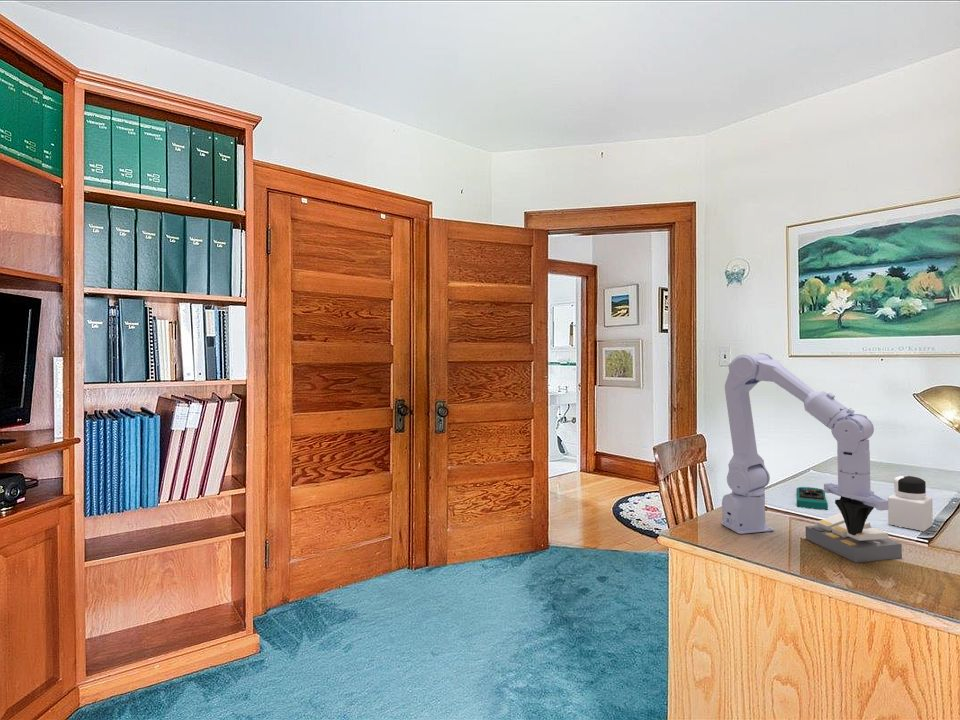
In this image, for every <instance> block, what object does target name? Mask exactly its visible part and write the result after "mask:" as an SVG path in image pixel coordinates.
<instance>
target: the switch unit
mask: <svg viewBox="0 0 960 720" xmlns="http://www.w3.org/2000/svg"><path fill="white" fill-rule="evenodd" d="M805 540H807V541H809V542H812V543H813V544H816V545H818V546H819V547H822V548H824V549H827V550H828V551H831V552H833V553H835V554H837V555H839V556H841V557H843V558H846V559H847V560H850V561H851V562H854V563H855V564H857V563H866V562H874V561H877V562H878V561H884V560H893V559H895V560H896V559H902V558H903V551H902V550H903V547H902V545H903V544H902V543H901V542H898V541H895V540H893V539H890V538H889V537H888V538H887V539H874V540H861V541H859V540H856V539H854V538H852V537H849V536H847V537H845V538H844V537H841V536H839V535H837V534H834V533H832V530H831V531H827V530H825V529H823V528H820V527H818V524H817V525H815V524H814V525H808V526H807V525H805Z"/></svg>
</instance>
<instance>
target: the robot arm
mask: <svg viewBox="0 0 960 720" xmlns="http://www.w3.org/2000/svg"><path fill="white" fill-rule="evenodd" d="M728 371H729V372H728V373H727V376H726V381H725V383H724V393H725V394H724V395H725V401H726V407H727V415H728V422H729V423H728V424H729V429H730V436H731V437H730V438H731V444H732V451H733V455H732V457H731V459H730V460H729V462H728V465H727V466H728V473H727V475H726V483H727V485H728V487H729V489H730V490H731V493H727V494H725V495H723V496H722V499H721V515H722V516H721V517H722V519H721V520H722V521H720V525H723V526H724V527H726V528H727V529H730V530H731V531H733V532H735V533H737V534H740V535H742V534H754V533H762V532H773V531H775V528H773V527H771V526H768V525H767V524H766V500H765V499H766V498H765V497H766V493H765V491H766V487H767V486H768V485H769V483H770V480H771V479H770V478H771V477H770V473H769V470H768V469H767V467H766V465H765V462H764V461H765V460H764V459H763V457H761V456H760V454H759V453H758V450H757V442H756V433H755V428H754V427H755V426H754V420H753V412H752V407H751V398H750V391H751V390H752V389H753V388H754V387H755V386H757V385H758V383H760V382H772V383H775V384H777V385H778V386H779V387H781V388H782V389H783V390H785V391H786V392H788V393H789V394H791V395H792V396H794V397H795V398H797V399H798V400H799V401H801V402H802V403H803V407H804V410H805V411H806V412H807V413H808V414H810V416H812V417H813V418H815V419H816V420H817V421H818V422H820V423H821V424H823V425H824V426H825V427H827V428H828V429H829V430H830V431H831V435H832V436H833V438H834V440H836V442H837V446H836V447H837V448H836V449H837V450H836V452H837V453H836V454H837V455H836V456H837V457H836V459H837V484H835V483H832V482H831V483H830V482H829V483H828V482H827V483H823V490H824V492H825V494H833V495H836V496H838V497H840V498H839V499H835V500H834V503H835V505H836V507H837V508H838V510H839V512H840V513H841V514H842V516H843V518H844V521H845V524H846V527H847V530H848V533H849V534H851V535H856V534H857V533H862V531H863V527H864V524H865V522H866V521H867V519H868V517H869V515H870V514H871V512H873V510H874V509H876V510H877V511H880V512H881V511H888V510H889V506H888V499H885V498H883V497H880V496H878V495H877V494H875V493H874V492H875V491H873V490H871V456H870V455H871V453H870V452H871V450H870V439H869V438H871V437H872V436H873V434H874V431H875V428H874V427H875V426H874V424H873V423H872V421H871V420H870V419H869V418H868V417H867V416H866V415H864V414H862V413H856V412H855V410H854V409H852V408H848V407H846V406H845V405H844V404H842V403H841V402H839V401H838V400H837V399H835V398H836V396H835V395H834V394H833V392H828V393H827V392H825V391H815V390H813V389H812V388H811V387H810V386H809V385H808V384H806V383H805V382H804V381H802V380H801V379H800V378H798V377H797V376H796V375H795V374H793V373H792V372H791V371H790V370H789V369H788V368H786V367H785V366H784V365H783V364H782V363H781V362H780V361H779V360H777V359H775V358H773V357H772V356H771V355H770V354H768V353H766V352H764V353H763V352H761V353H756V354H755V353H754V354H740V355H737V356H736V357H734V359H732V361H730V363H728Z"/></svg>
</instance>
